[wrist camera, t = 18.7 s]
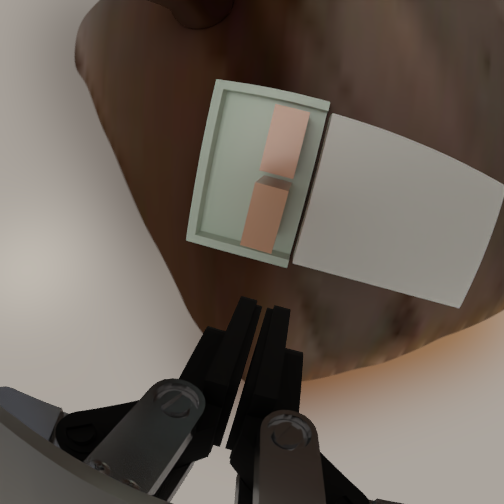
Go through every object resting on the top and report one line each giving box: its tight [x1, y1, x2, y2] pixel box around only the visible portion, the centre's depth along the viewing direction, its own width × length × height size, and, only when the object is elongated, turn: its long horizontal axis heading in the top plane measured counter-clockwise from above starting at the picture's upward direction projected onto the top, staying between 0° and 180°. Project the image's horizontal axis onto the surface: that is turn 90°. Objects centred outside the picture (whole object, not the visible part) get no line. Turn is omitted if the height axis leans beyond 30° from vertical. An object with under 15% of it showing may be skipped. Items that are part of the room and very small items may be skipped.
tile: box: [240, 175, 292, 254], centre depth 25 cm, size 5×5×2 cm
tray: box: [186, 79, 330, 268], centre depth 26 cm, size 10×15×2 cm, turn 167°
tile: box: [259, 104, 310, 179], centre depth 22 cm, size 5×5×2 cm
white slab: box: [293, 113, 504, 308], centre depth 24 cm, size 18×13×3 cm
